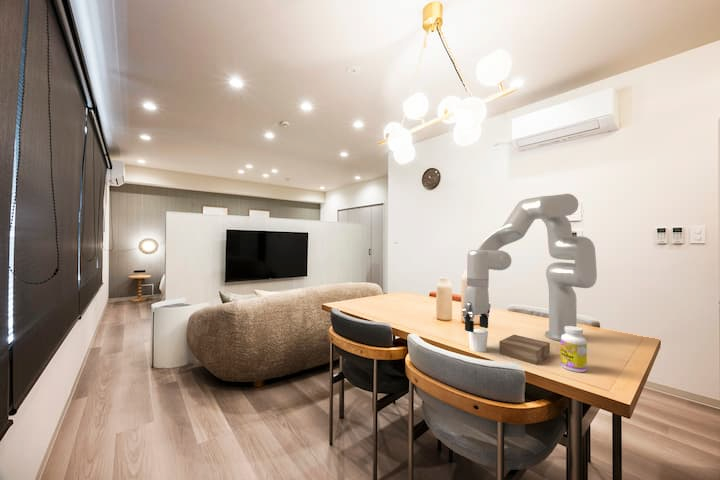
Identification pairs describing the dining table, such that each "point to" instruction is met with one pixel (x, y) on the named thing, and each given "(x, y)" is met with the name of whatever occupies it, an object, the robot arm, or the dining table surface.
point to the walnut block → (524, 349)
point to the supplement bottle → (573, 349)
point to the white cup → (478, 340)
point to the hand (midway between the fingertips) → (476, 329)
